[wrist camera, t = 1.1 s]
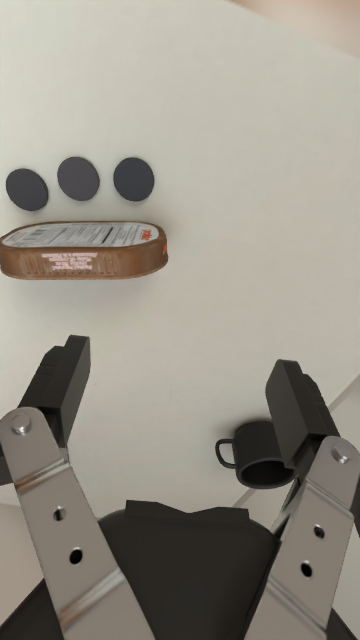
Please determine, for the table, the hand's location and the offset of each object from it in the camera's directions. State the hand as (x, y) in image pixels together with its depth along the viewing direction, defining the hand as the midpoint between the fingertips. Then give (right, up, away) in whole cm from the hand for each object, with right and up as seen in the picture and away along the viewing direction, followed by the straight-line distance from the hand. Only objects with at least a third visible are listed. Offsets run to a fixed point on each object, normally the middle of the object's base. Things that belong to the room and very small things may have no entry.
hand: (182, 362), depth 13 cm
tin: (-9, +11, +18) cm, 23 cm away
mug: (+11, -16, +38) cm, 43 cm away
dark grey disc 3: (-4, +15, +15) cm, 22 cm away
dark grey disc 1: (-14, +14, +16) cm, 25 cm away
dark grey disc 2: (-9, +15, +15) cm, 23 cm away
